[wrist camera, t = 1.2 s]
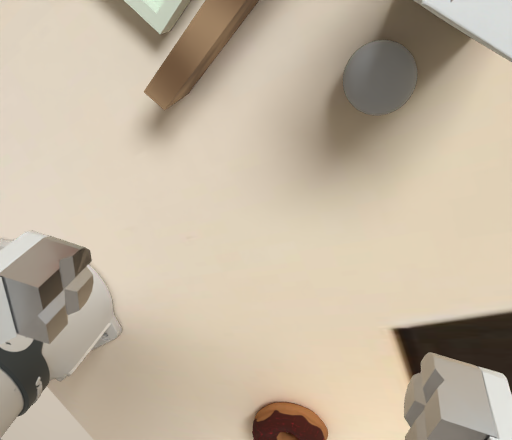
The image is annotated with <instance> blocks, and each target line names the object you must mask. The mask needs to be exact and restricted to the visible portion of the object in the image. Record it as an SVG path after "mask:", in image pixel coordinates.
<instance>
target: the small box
mask: <svg viewBox="0 0 512 440" xmlns="http://www.w3.org/2000/svg"><path fill="white" fill-rule="evenodd" d="M414 1H415V2H416V3H418V4H419V5H421V6H422V7H424V8H425V9H427V10H428V11H430V12H431V13H433V14H434V15H436V16H437V17H439V18H440V19H442V20H444V21H445V22H447V23H448V24H450V25H452V26H453V27H455V28H456V29H458V30H460V31H461V32H463V33H464V34H466V35H467V36H469V37H471V38H472V39H474V40H476V41H477V42H479V43H481V44H482V45H484V46H486V47H487V48H489V49H491V50H492V51H494V52H496V53H497V54H499V55H501V56H502V57H504V58H506V59H507V60H509V61H511V62H512V0H414Z"/></svg>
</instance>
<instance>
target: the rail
mask: <svg viewBox="0 0 512 440" xmlns="http://www.w3.org/2000/svg"><path fill="white" fill-rule="evenodd" d="M258 1H259V0H206V1H205V2H204V3H203V5H202V6H201V8H200V9H199V11H198V12H197V14H196V15H195V17H194V18H193V20H192V21H191V23H190V24H189V26H188V27H187V29H186V30H185V31H184V33H183V34H182V36H181V37H180V39H179V40H178V42H177V43H176V45H175V46H174V48H173V49H172V51H171V52H170V54H169V55H168V57H167V58H166V60H165V61H164V62H163V64H162V65H161V67H160V68H159V70H158V71H157V73H156V74H155V76H154V77H153V79H152V80H151V82H150V83H149V85H148V86H147V88H146V89H145V91H144V93H146V94H147V95H148V96H149V97H150V98H151V99H152V100H153V101H155V102H156V103H157V104H158V105H159V106H160V107H161V108H162V109H163V110H166V109H167V108H169V107H170V106H172V105H173V104H174V103H176V102H177V101H179V100H180V99H181V98H183V97H184V96H186V95H187V94H188V93H189V92H190V91H191V89H192V88H193V87H194V85H195V84H196V83H197V81H198V80H199V79H200V78H201V76H202V75H203V74H204V72H205V71H206V70H207V68H208V67H209V66H210V64H211V63H212V62H213V60H214V59H215V58H216V56H217V55H218V54H219V52H220V51H221V50H222V48H223V47H224V46H225V45H226V43H227V42H228V41H229V39H230V38H231V37H232V35H233V34H234V33H235V31H236V30H237V29H238V27H239V26H240V25H241V23H242V22H243V21H244V19H245V18H246V17H247V15H248V14H249V13H250V11H251V10H252V9H253V8H254V6H255V5H256V4H257V2H258Z"/></svg>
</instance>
